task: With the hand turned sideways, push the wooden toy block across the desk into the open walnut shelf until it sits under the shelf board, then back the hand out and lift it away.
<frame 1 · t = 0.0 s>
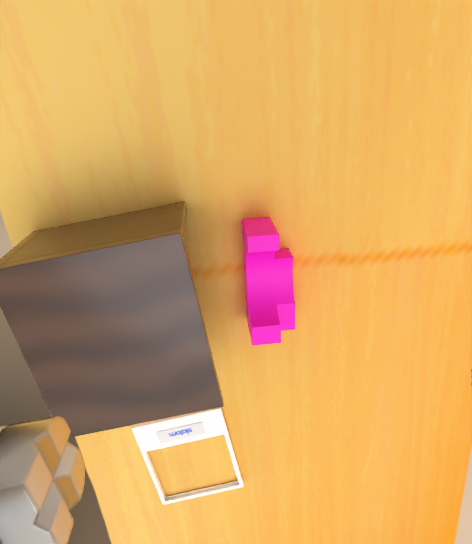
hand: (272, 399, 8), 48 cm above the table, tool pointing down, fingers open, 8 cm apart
photo frame: (190, 453, 72), on the table
shelf: (134, 295, 60), on the table
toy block: (266, 268, 60), on the table
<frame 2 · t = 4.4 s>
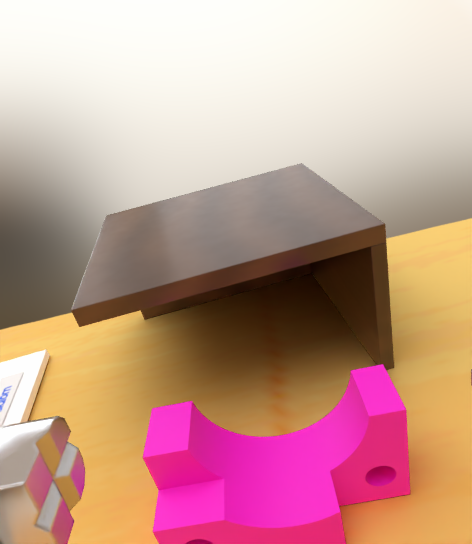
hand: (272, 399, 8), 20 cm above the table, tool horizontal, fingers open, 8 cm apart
shelf: (242, 337, 44), on the table
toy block: (291, 506, 28), on the table
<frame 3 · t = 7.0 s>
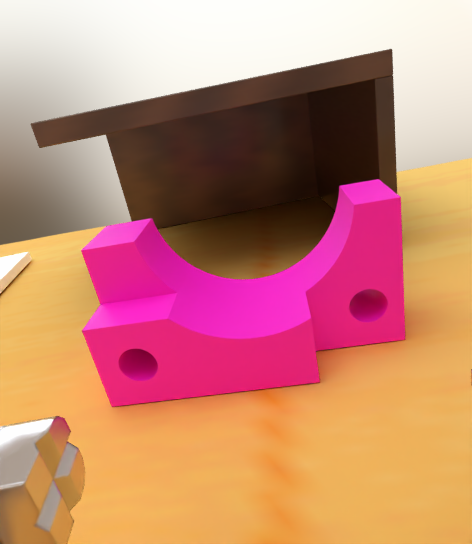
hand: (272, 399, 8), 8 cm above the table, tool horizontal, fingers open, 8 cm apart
shelf: (234, 239, 40), on the table
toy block: (260, 354, 23), on the table
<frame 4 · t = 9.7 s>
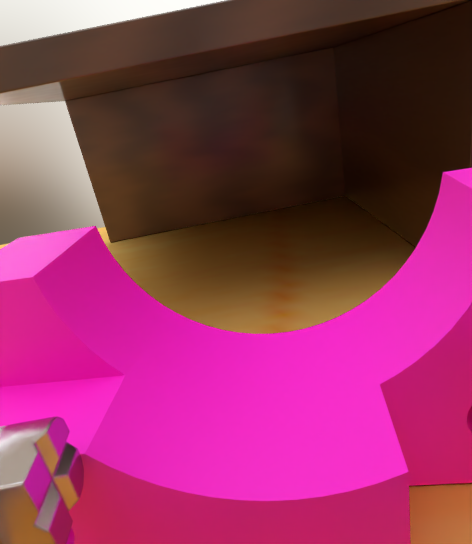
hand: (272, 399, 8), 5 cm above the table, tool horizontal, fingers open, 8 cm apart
shelf: (237, 253, 30), on the table
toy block: (283, 477, 13), on the table, touching gripper
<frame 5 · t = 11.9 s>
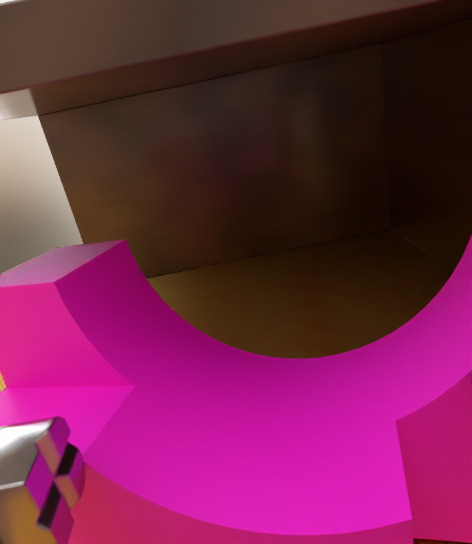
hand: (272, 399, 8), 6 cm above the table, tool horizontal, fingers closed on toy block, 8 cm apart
shelf: (261, 318, 22), on the table
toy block: (293, 513, 12), on the table, touching gripper
when the fingers open (5 cm above the table, at t = 13.6 s): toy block stays where it is, on the table.
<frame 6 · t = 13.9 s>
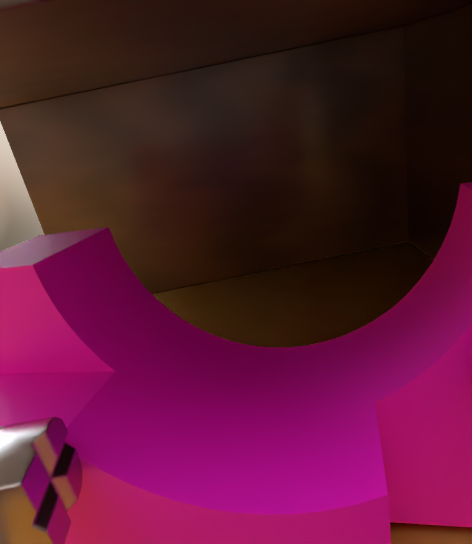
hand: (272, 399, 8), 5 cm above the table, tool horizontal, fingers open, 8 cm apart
shelf: (263, 357, 18), on the table
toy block: (275, 500, 12), on the table, touching gripper
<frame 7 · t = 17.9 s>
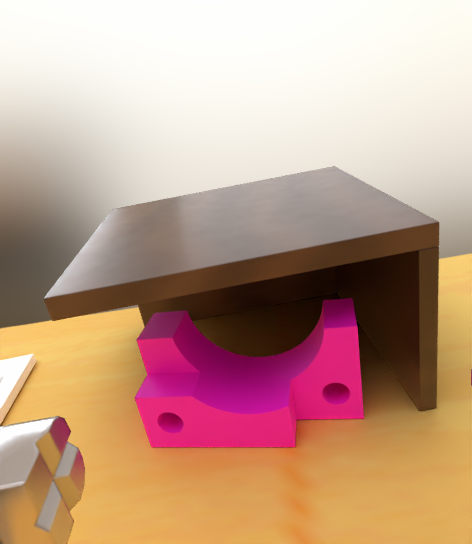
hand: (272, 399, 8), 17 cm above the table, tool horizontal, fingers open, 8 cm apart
shelf: (253, 357, 38), on the table
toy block: (259, 416, 32), on the table
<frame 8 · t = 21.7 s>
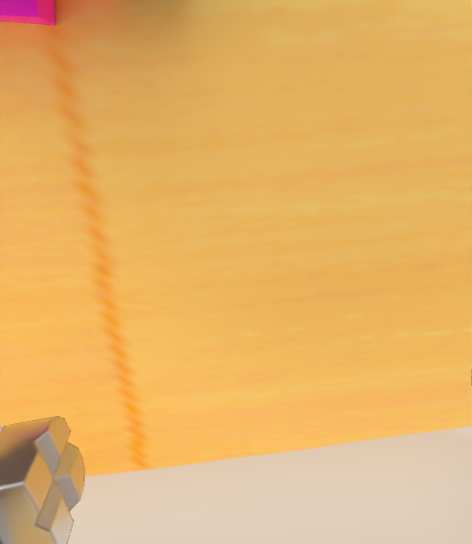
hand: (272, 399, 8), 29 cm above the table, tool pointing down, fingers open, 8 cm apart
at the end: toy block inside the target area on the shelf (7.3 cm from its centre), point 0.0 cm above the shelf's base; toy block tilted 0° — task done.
